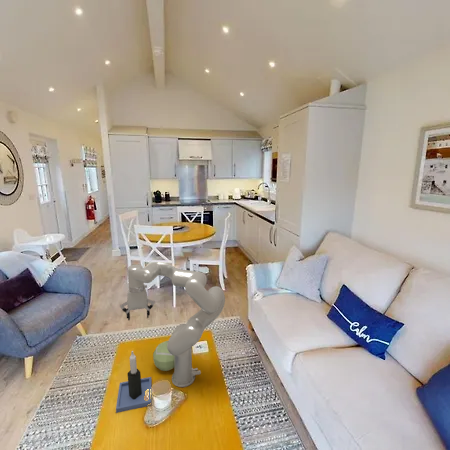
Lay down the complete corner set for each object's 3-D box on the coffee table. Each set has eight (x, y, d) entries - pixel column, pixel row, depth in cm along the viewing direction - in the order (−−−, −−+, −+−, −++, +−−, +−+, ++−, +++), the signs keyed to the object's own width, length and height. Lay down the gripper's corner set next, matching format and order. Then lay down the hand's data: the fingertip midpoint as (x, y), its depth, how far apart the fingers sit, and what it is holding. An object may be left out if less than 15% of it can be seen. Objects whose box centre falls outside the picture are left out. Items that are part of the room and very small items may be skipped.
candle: (137, 388, 137) (134, 346, 132) (142, 393, 134) (139, 350, 128) (128, 394, 133) (124, 351, 128) (133, 400, 130) (130, 356, 125)
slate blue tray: (151, 380, 143) (151, 376, 143) (151, 405, 128) (151, 401, 128) (120, 386, 139) (119, 382, 139) (116, 412, 124) (115, 409, 123)
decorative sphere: (183, 358, 160) (182, 336, 156) (176, 377, 145) (175, 354, 142) (159, 356, 161) (158, 335, 158) (150, 375, 146) (148, 352, 143)
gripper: (153, 283, 143) (155, 312, 147) (119, 287, 139) (122, 316, 143) (153, 289, 136) (155, 319, 140) (118, 293, 132) (120, 324, 135)
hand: (138, 317), depth 141 cm, fingers open, 9 cm apart
